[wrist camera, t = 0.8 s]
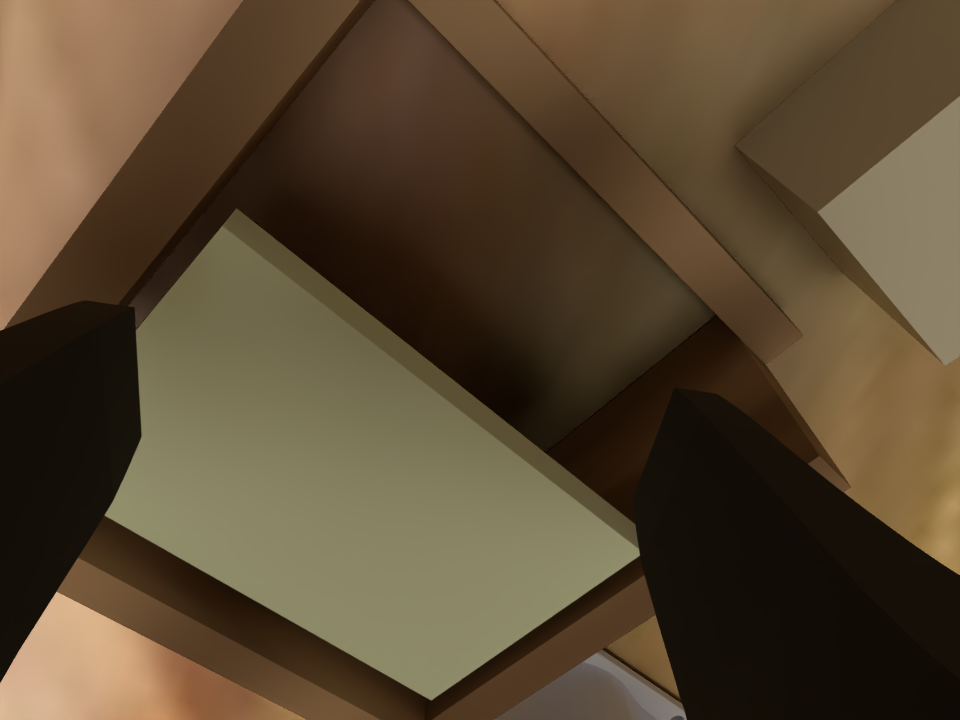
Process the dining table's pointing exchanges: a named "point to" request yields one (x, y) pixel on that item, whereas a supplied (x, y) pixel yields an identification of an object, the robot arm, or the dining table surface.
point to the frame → (584, 453)
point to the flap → (348, 473)
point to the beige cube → (881, 165)
